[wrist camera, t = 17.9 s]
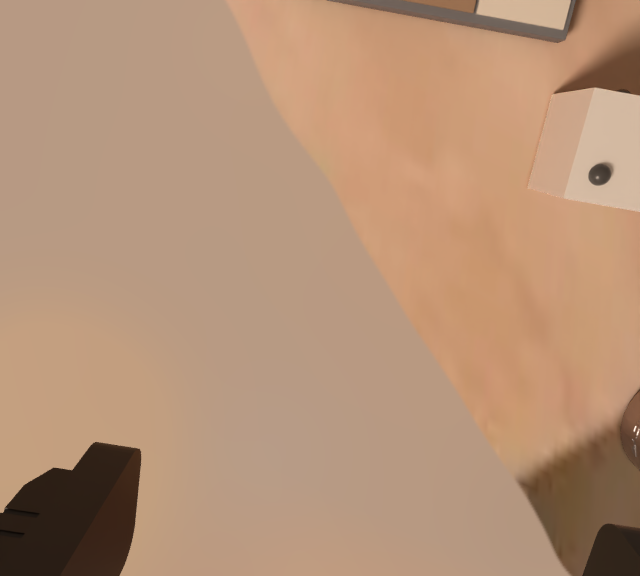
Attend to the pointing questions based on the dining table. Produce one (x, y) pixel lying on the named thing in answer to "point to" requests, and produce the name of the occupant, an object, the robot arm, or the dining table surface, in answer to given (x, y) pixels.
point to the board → (488, 14)
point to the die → (591, 148)
